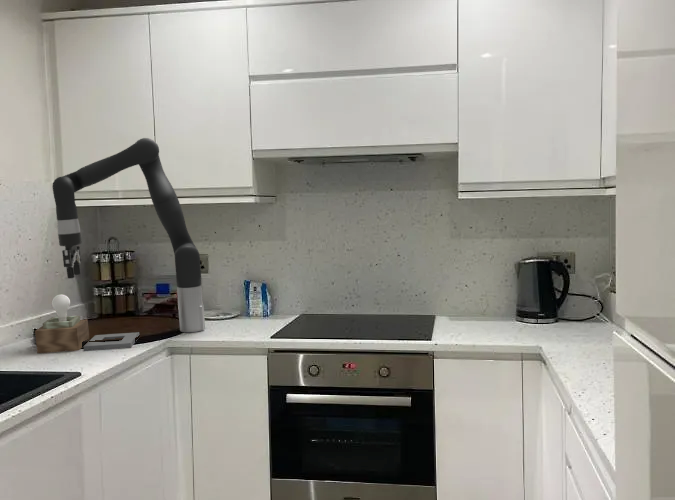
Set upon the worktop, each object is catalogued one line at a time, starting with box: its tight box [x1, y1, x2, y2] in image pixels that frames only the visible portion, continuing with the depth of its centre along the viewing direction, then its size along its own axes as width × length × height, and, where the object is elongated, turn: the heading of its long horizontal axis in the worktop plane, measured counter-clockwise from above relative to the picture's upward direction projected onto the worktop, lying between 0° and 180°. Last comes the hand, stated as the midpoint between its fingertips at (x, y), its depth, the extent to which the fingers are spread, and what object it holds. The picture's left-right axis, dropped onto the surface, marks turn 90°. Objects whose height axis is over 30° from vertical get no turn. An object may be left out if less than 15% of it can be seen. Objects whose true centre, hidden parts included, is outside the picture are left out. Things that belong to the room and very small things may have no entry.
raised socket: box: [34, 315, 90, 354], centre depth 234 cm, size 14×14×10 cm
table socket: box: [83, 331, 140, 352], centre depth 236 cm, size 16×16×2 cm
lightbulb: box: [51, 294, 71, 322], centre depth 233 cm, size 6×6×11 cm
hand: (74, 276), depth 237 cm, fingers open, 8 cm apart
